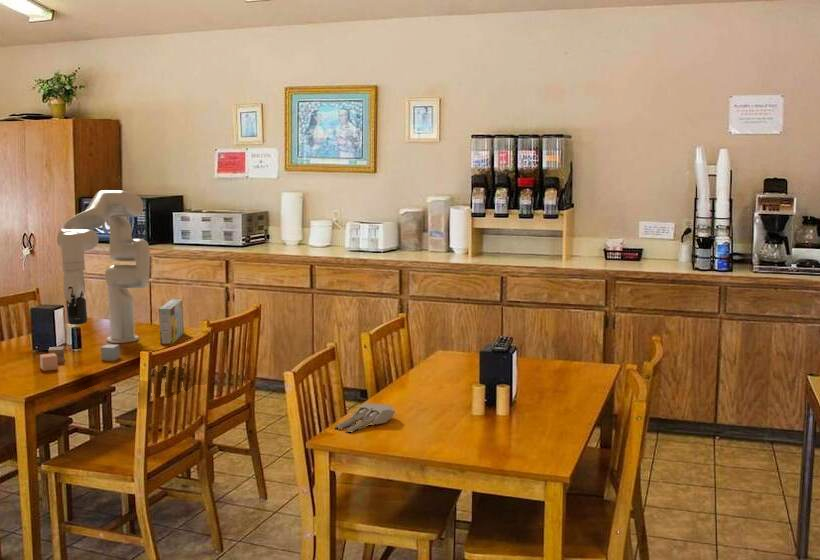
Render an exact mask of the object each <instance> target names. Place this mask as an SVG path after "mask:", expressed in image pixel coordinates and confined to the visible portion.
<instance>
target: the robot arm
mask: <svg viewBox="0 0 820 560" xmlns="http://www.w3.org/2000/svg"><path fill="white" fill-rule="evenodd" d="M143 210H144V202H143V200H142V198H141V197H140V196H139V195H138V194H137V195H136V194H135V193H132V192H130V191H126V190H113V189H112V190H109V189H108V190H107V189H105V190H99V191H98V192H96V193H95V195H94V196H93V197H92V199H91V201H90V202H89V204H88V206H87V207H86V208H85V210H83V211H82V212H80V213H77V214H75V215H74V216H71V217H70V218H68V219H67V220H65V222H63V224H62V225H61V227H60V229H59V231H58V232H57V236H56V243H57V245H58V247H59V248H60V249H61V250H60V251H61V261H62V263H61V264H62V271H63V298H64V299H66V300H68V301H67V302H68V311H69V317H78V306H76V305H77V298H79V297H80V295H81V292H82V294H83V296H82V297H84V295H85V293H86V284H85V283H86V282H85V274H84V271H85V270H86V267H85V266H86V264H85V252H84V251H90V250H93V249H95V248H96V247H97V246H98V244H99V241H100V239H99V235H98V234H97V232H96V231H94V229H99V228H101V227H103V226H105V224H106V222H107V223H108V225H109V256H110V257H109V258H110V259H111V260H113V261H115V262H129V263H131V262H135V264H112V265H110V266H108V267H107V268H106V269H105V272H104V279H105V284H106V288H107V295H108V311H109V314H108V315H109V316H108V317H109V331H110V332H109V334H110V335H109V336H107V337H106V342H107V343H108V342H109V343H111V344H125V343H132V342H135V341H138V340H139V336H138V335H137V334H135V318H134V314H135V312H134V298H133V295H132V293H131V291H130V290H129V289H143V288H146V287H148V285H149V282H150V273H151V272H150V271H151V270H150V268H151V267H150V266H151V265H150V263H151V249H150V245H149V243H148V241H147V240H145V239H143V238H133V237H132V231H133V229H132V225H131V223H130V222H129V219H128V218H129V217H131V218H132V217H135V218H136V217H139V216H140V215H142V213H143ZM127 217H128V218H127ZM72 296H75V297H72ZM84 298H85V297H84ZM73 300H74V301H73Z"/></svg>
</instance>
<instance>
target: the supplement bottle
mask: <svg viewBox="0 0 820 560" xmlns="http://www.w3.org/2000/svg"><path fill="white" fill-rule="evenodd" d="M82 296H83V294H82V292H81V295H80V297H79V298H77V305H76V306H78V317H69V311H68V302H67V301H68V300H67V299H66V301H65V307H66V318H67V324H69V325H72V326H73V325H74V326H76V325H84V324H86V323H88V312H87V311H88V310H87V309H88V308H87V299H86V298H85V297H82ZM72 297H75V296H72ZM73 301H74V300H73Z"/></svg>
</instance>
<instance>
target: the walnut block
mask: <svg viewBox="0 0 820 560" xmlns="http://www.w3.org/2000/svg"><path fill="white" fill-rule="evenodd" d="M47 352H48V354H51V353H55V354H56V355H57V361H58V364H59V363H65V348H64V346H52V347H51V346H49V348H48V351H47Z"/></svg>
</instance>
